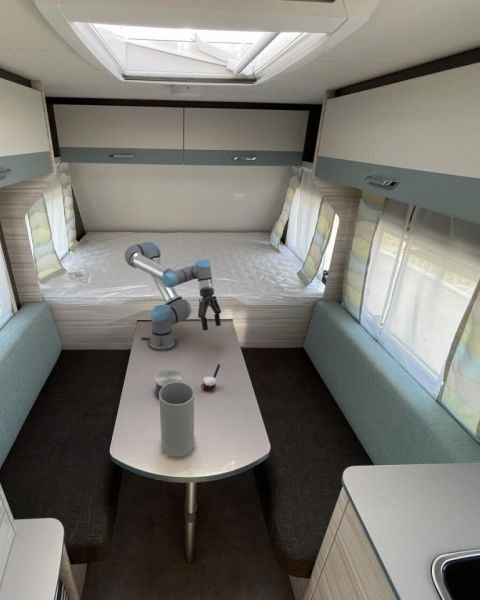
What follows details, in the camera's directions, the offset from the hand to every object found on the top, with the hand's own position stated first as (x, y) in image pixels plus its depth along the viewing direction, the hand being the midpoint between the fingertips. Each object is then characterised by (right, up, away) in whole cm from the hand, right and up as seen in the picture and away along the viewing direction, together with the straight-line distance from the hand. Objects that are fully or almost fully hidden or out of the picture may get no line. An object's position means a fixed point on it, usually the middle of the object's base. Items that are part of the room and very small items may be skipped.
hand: (212, 327), depth 173 cm
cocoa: (-2, -28, -15) cm, 32 cm away
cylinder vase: (-16, -42, -46) cm, 64 cm away
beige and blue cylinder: (-22, -29, -18) cm, 40 cm away
